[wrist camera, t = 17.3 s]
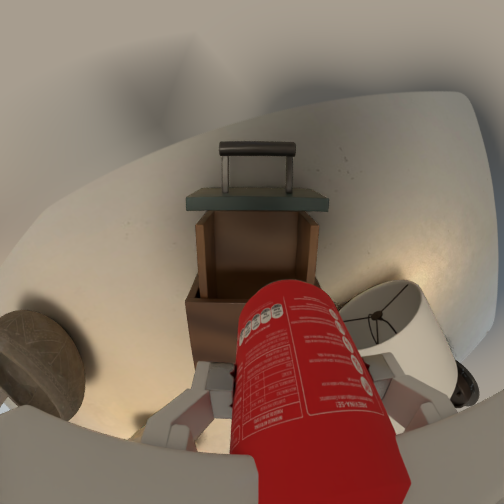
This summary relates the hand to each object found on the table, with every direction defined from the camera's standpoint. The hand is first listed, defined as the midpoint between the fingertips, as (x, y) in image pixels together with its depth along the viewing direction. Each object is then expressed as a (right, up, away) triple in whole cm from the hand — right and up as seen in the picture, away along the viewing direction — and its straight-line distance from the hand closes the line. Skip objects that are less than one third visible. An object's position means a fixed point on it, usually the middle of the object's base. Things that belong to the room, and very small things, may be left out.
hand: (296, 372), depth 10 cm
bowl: (-39, -12, +29) cm, 51 cm away
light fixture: (+23, -12, +29) cm, 39 cm away
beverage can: (0, +2, +5) cm, 5 cm away
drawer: (-1, +8, +21) cm, 23 cm away
